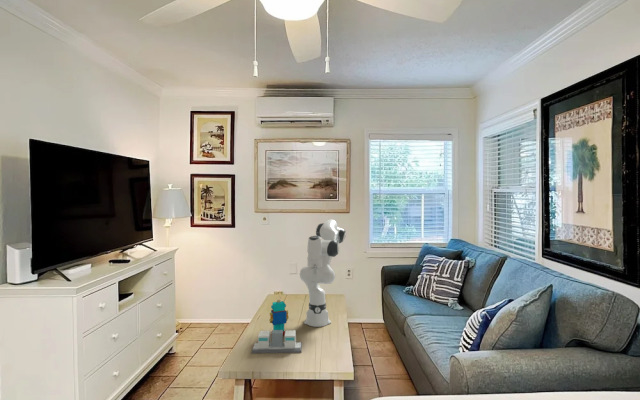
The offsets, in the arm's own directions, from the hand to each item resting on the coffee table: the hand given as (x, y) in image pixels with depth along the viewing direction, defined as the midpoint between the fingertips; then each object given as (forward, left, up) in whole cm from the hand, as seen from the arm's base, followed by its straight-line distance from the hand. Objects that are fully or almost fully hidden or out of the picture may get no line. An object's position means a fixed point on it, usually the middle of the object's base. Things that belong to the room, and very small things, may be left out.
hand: (314, 286), depth 216 cm
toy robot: (-12, -23, -34) cm, 43 cm away
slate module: (+8, -22, -32) cm, 40 cm away
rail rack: (+8, -22, -34) cm, 41 cm away
